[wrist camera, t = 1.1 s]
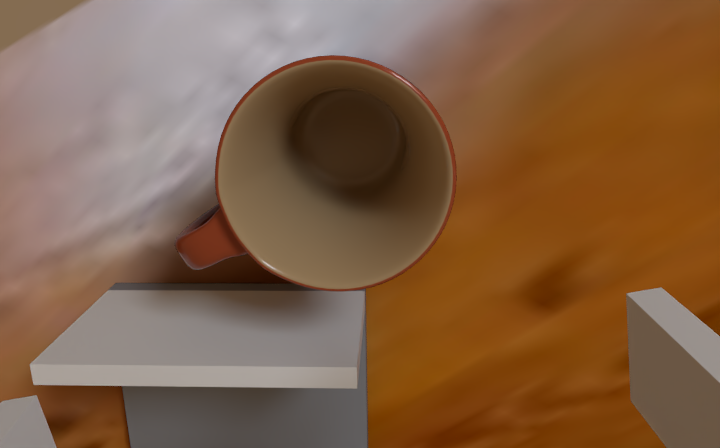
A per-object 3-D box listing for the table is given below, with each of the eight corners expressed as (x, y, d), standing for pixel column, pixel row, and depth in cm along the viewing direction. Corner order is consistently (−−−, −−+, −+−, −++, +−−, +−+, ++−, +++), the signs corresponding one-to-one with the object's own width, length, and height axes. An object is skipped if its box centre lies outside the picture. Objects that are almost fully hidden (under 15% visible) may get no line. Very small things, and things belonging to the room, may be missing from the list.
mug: (386, 11, 31) (383, 6, 21) (467, 166, 33) (498, 227, 24) (182, 130, 34) (95, 176, 24) (270, 269, 36) (224, 363, 26)
